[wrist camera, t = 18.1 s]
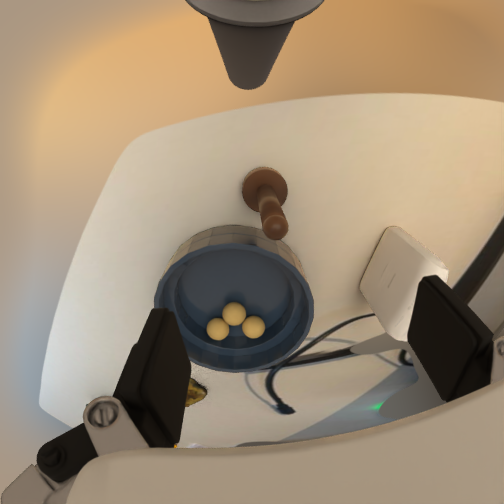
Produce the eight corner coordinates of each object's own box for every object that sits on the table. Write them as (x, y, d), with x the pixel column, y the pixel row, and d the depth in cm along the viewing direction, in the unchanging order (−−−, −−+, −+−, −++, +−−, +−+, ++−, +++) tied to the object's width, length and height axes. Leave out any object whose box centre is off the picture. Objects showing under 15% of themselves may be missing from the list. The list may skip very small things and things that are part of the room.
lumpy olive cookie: (201, 365, 45) (121, 366, 45) (198, 384, 40) (112, 383, 41) (212, 402, 48) (137, 402, 48) (210, 421, 43) (131, 419, 44)
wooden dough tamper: (241, 167, 31) (238, 198, 19) (285, 166, 31) (313, 195, 19) (243, 209, 33) (242, 265, 20) (285, 207, 33) (310, 262, 21)
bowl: (151, 233, 34) (135, 254, 29) (302, 215, 34) (312, 234, 28) (183, 346, 42) (176, 375, 36) (305, 335, 41) (312, 364, 36)
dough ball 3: (255, 345, 38) (235, 335, 38) (262, 327, 40) (243, 317, 40) (264, 337, 36) (243, 326, 36) (271, 318, 38) (251, 308, 38)
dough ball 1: (222, 310, 39) (218, 322, 36) (235, 326, 39) (232, 339, 36) (204, 319, 39) (199, 331, 36) (217, 334, 40) (213, 347, 37)
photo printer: (386, 220, 34) (438, 263, 23) (410, 230, 35) (463, 274, 24) (353, 288, 38) (387, 348, 27) (377, 295, 39) (414, 352, 28)
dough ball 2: (237, 317, 39) (244, 299, 38) (244, 331, 37) (252, 312, 36) (217, 315, 38) (223, 296, 37) (222, 329, 35) (230, 309, 34)
